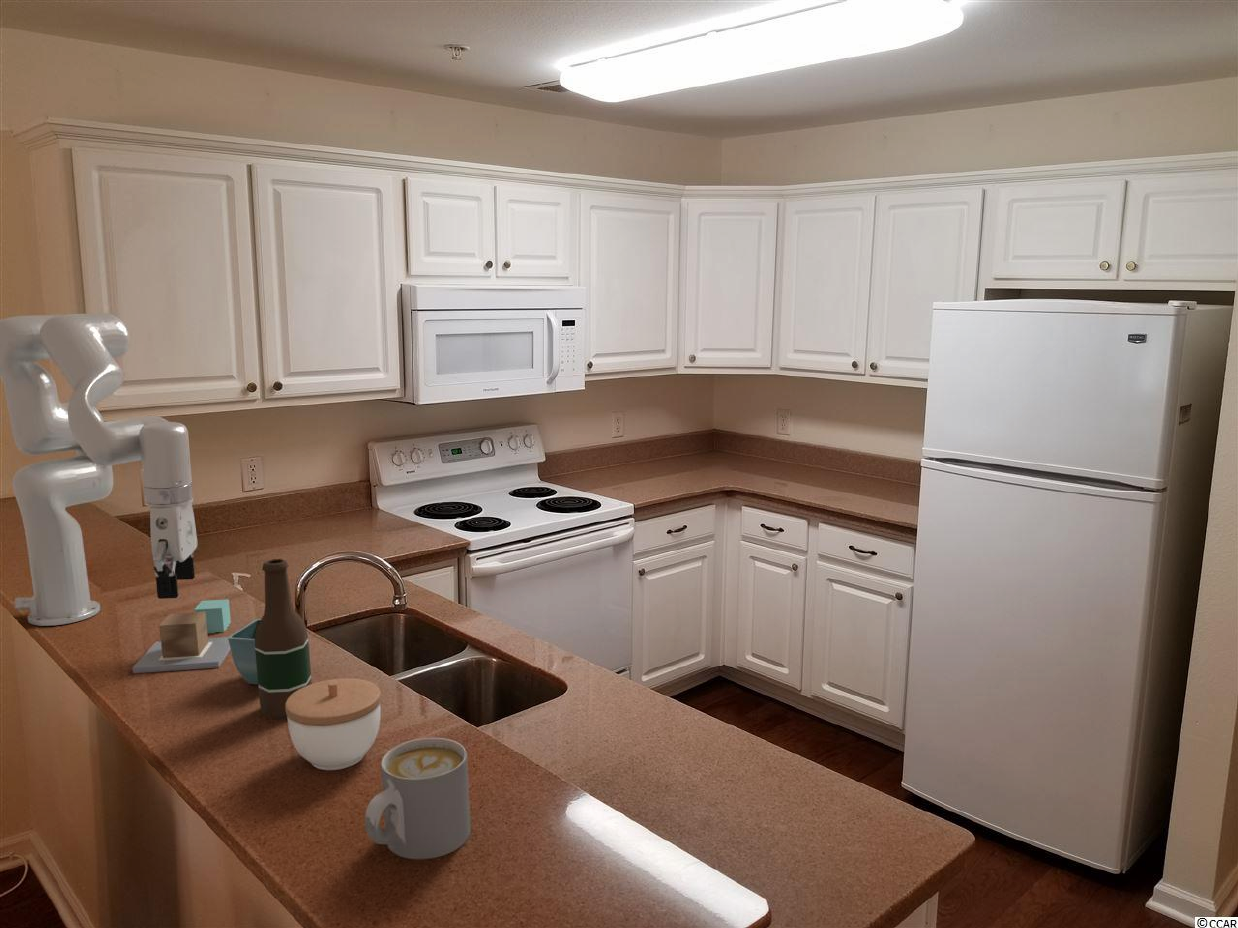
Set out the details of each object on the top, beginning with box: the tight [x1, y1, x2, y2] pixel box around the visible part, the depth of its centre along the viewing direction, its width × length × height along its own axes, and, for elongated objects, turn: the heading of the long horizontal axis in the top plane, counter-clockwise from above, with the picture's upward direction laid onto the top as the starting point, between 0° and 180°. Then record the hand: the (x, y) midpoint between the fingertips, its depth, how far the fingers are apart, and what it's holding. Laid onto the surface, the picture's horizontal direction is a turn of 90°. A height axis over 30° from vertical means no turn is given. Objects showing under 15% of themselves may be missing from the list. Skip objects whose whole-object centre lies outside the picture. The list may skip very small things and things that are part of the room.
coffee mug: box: [364, 737, 472, 860], centre depth 109 cm, size 13×10×10 cm
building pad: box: [132, 636, 231, 674], centre depth 166 cm, size 14×12×1 cm
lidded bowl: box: [285, 677, 382, 771], centre depth 129 cm, size 13×13×11 cm
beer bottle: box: [255, 558, 313, 720], centre depth 143 cm, size 8×8×24 cm
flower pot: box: [227, 618, 262, 685], centre depth 155 cm, size 9×9×9 cm
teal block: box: [193, 599, 232, 634], centre depth 179 cm, size 5×5×5 cm
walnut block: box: [158, 611, 209, 658], centre depth 165 cm, size 6×6×6 cm
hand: (176, 588), depth 164 cm, fingers open, 9 cm apart
